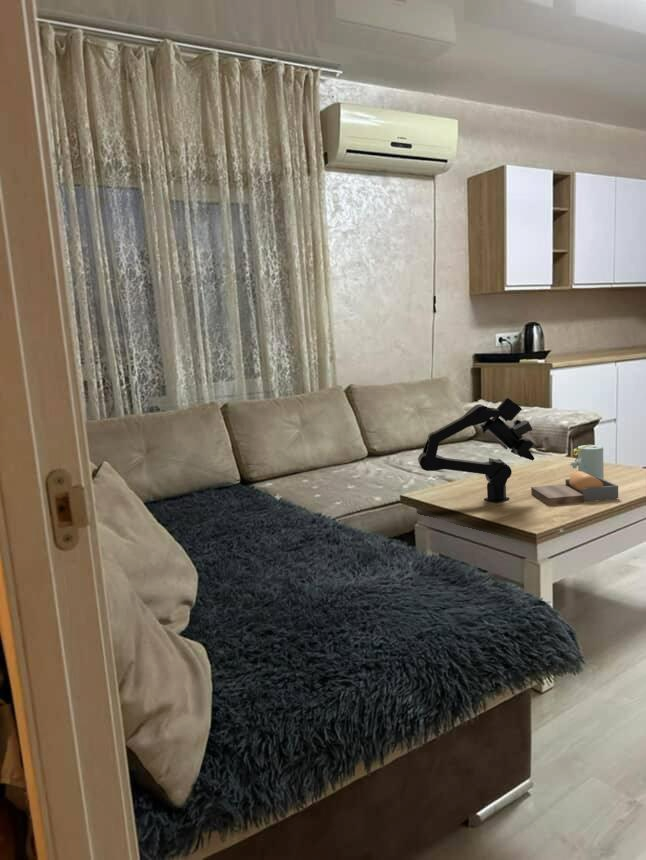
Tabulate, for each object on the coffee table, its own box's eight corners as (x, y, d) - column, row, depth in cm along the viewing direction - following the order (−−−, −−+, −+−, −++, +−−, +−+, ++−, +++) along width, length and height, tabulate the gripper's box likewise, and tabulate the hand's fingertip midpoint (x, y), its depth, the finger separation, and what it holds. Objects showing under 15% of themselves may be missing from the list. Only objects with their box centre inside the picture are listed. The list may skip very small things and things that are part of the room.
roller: (582, 479, 208) (583, 499, 209) (602, 476, 208) (603, 496, 209) (568, 472, 218) (570, 491, 219) (587, 470, 218) (589, 488, 219)
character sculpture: (582, 473, 245) (581, 440, 243) (612, 476, 237) (611, 442, 235) (561, 484, 231) (561, 449, 229) (593, 488, 223) (592, 451, 221)
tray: (584, 501, 207) (583, 488, 206) (565, 491, 221) (565, 479, 220) (618, 498, 207) (618, 485, 206) (597, 488, 221) (597, 476, 221)
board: (548, 505, 206) (548, 498, 205) (531, 493, 222) (531, 487, 221) (584, 502, 206) (584, 495, 206) (564, 491, 222) (563, 484, 221)
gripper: (526, 416, 204) (560, 446, 206) (508, 410, 222) (538, 438, 224) (504, 442, 205) (537, 471, 207) (487, 433, 223) (518, 460, 225)
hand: (533, 459), depth 216 cm, fingers closed
